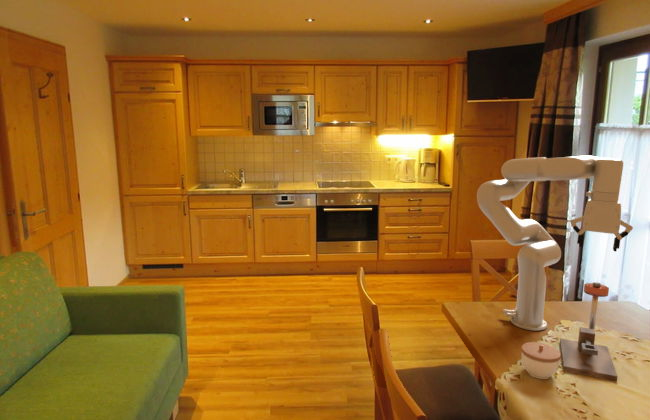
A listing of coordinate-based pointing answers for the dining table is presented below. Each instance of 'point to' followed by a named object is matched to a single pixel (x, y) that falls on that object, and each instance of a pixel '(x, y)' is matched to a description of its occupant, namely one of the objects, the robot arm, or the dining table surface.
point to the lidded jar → (540, 359)
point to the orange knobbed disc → (595, 298)
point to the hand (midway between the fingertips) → (597, 248)
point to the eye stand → (587, 356)
